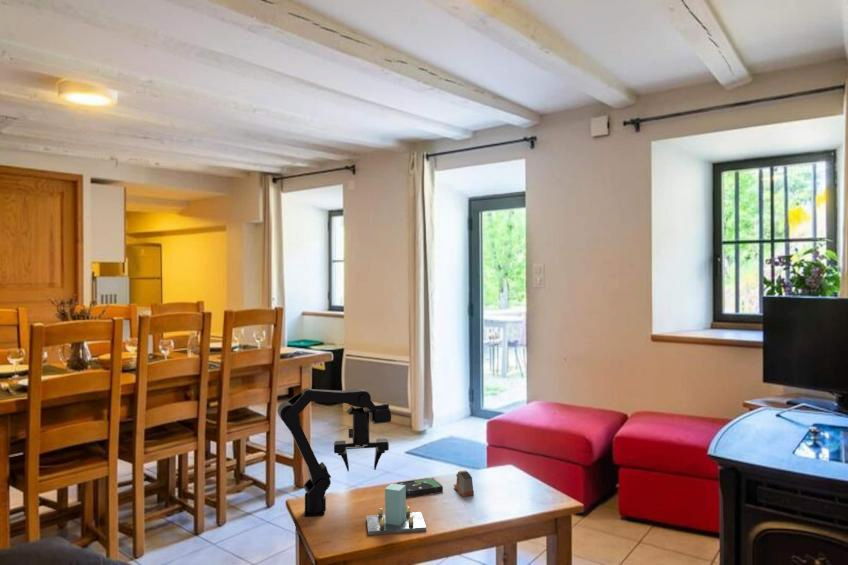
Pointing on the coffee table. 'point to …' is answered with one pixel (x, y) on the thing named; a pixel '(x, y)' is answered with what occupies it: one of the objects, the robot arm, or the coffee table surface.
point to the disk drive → (422, 487)
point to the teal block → (395, 504)
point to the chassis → (411, 524)
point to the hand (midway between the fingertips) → (361, 470)
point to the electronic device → (464, 483)
